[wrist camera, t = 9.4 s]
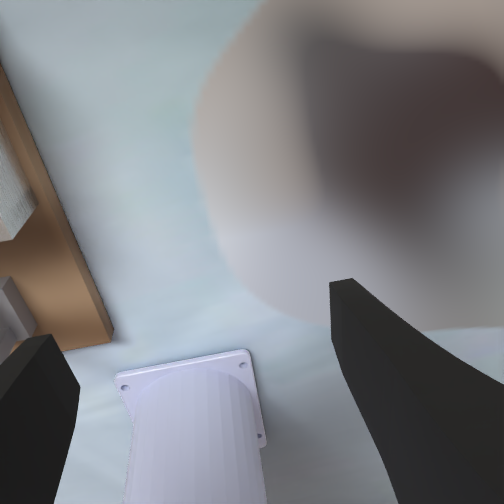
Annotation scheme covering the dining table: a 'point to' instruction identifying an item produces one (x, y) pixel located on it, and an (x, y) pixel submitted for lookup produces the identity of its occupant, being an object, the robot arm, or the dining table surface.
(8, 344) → the clip
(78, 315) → the board
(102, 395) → the dining table surface
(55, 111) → the dining table surface
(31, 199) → the end holder
